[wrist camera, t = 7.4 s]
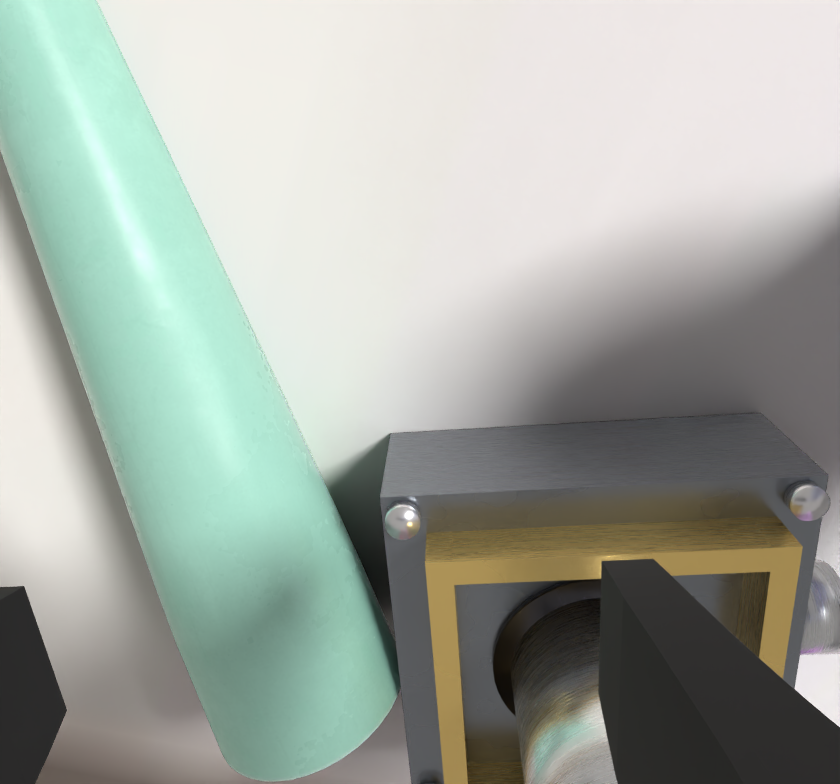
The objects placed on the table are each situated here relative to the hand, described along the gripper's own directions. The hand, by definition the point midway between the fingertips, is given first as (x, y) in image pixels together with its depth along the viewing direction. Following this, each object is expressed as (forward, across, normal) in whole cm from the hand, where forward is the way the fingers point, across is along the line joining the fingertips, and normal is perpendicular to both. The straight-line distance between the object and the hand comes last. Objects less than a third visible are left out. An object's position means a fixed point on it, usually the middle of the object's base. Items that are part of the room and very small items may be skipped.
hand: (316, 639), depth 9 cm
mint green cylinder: (+11, +6, -4) cm, 13 cm away
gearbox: (+10, -5, +7) cm, 13 cm away
